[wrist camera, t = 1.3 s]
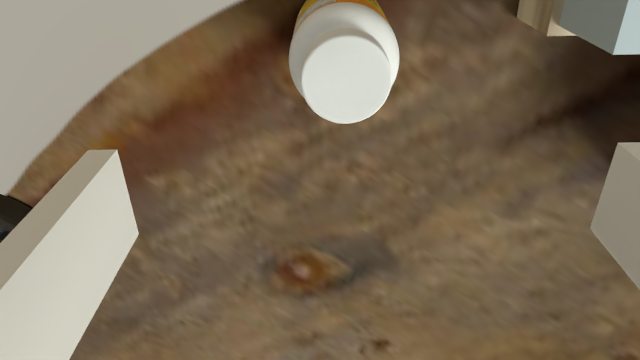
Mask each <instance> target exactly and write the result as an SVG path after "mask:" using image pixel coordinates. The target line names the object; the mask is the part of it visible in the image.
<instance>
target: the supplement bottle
mask: <svg viewBox="0 0 640 360" xmlns="http://www.w3.org/2000/svg"><path fill="white" fill-rule="evenodd" d="M398 67H399V49H398V44H397V40H396V37H395V34H394V32H393V30H392V28H391V26H390V24H389V23H388V21H387V19H386V17H385V15H384V13H383V11H382V9H381V7H380V6H379V4H378V3H377V1H376V0H306V2H305V3H304V5H303V6H302V8H301V10H300V12H299V14H298V17H297V20H296V24H295V29H294V33H293V37H292V41H291V44H290V50H289V68H290V73H291V77H292V79H293V82H294V84H295V86H296V88H297V89H298V91H299V92H300V94H301V95H302V96H303V97H304V98H305V100H306V102H307V103H308V105H309V106H310V108H311V109H312V110H313V111H314V112H315V113H317V114H318V115H319V116H321V117H322V118H324V119H326V120H329V121H332V122H335V123H354V122H359V121H361V120H364V119H366V118H368V117H370V116H371V115H373V114H374V113H375V112H377V111H378V110H379V109H380V108H381V106H382V105H383V104H384V102H385V101H386V99H387V97H388V95H389V92H390V89H391V86H392V85H393V83H394V81H395V78H396V75H397V72H398Z"/></svg>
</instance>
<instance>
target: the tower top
mask: <svg viewBox="0 0 640 360" xmlns="http://www.w3.org/2000/svg"><path fill="white" fill-rule="evenodd" d="M559 26H560V27H562V28H564V29H565V30H567V31H569V32H571V33H573V34H575V35H577V36H579V37H580V38H582V39H584V40H586V41H588V42H590V43H592V44H594V45H595V46H597V47H599V48H601V49H603V50H605V51H607V52H609V53H610V54H612V55H629V54H640V0H565V1H564V5H563V10H562V14H561V19H560V23H559Z"/></svg>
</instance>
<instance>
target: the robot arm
mask: <svg viewBox="0 0 640 360" xmlns="http://www.w3.org/2000/svg"><path fill="white" fill-rule="evenodd" d="M590 230H591V231H592V232H593V233H594V234H595V236H596V237H597V238H598V239H599V241H600V242H601V243H602V244H603V246H604V247H605V248H606V249H607V250H608V252H609V253H610V254H611V255H612V257H613V258H614V259H615V260H616V261H617V263H618V264H619V265H620V266H621V268H622V269H623V270H624V271H625V273H626V274H627V275H628V276H629V277H630V279H631V280H632V281H633V282H634V284H635V285H636V286H637V287H638V288H639V290H640V142H628V143H618V144H617V147H616V150H615V153H614V156H613V159H612V162H611V165H610V168H609V171H608V174H607V177H606V181H605V184H604V187H603V190H602V193H601V196H600V199H599V202H598V205H597V208H596V211H595V214H594V218H593V221H592V224H591V227H590ZM138 234H139V233H138V229H137V225H136V221H135V218H134V214H133V210H132V206H131V202H130V198H129V194H128V190H127V186H126V183H125V179H124V175H123V171H122V167H121V163H120V159H119V155H118V151H117V150H88V151H87V152H86V153H85V154H84V155H83V156H82V157H81V158H80V159H79V160H78V161H77V162H76V164H75V165H74V166H73V167H72V168H71V169H70V170H69V171H68V172H67V173H66V174H65V175H64V176H63V177H62V178H61V179H60V180H59V182H58V183H57V184H56V185H55V186H54V187H53V188H52V189H51V190H50V191H49V192H48V193H47V194H46V195H45V196H44V197H43V199H42V200H41V201H40V202H39V203H38V204H37V205H36V206H35V207H34V208H33V209H31V208H30V207H28V206H26V205H24V204H22V203H20V202H18V201H16V200H14V199H12V198H9V197H7V196H4V195H1V194H0V360H69V359H70V357H71V355H72V353H73V352H74V350H75V348H76V346H77V344H78V343H79V341H80V339H81V337H82V335H83V334H84V332H85V330H86V328H87V326H88V325H89V323H90V321H91V319H92V317H93V316H94V314H95V312H96V310H97V308H98V306H99V305H100V303H101V301H102V299H103V297H104V296H105V294H106V292H107V290H108V288H109V287H110V285H111V283H112V281H113V279H114V278H115V276H116V274H117V272H118V270H119V269H120V267H121V265H122V263H123V261H124V260H125V258H126V256H127V254H128V252H129V251H130V249H131V247H132V245H133V243H134V242H135V240H136V238H137V236H138Z"/></svg>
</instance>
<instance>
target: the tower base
mask: <svg viewBox="0 0 640 360" xmlns="http://www.w3.org/2000/svg"><path fill="white" fill-rule="evenodd" d="M564 1H565V0H520V1H519V7H518V13H517V18H518V19H519V20H521V21H523V22H524V23H526V24H528V25H529V26H531V27H533V28H534V29H536V30H538V31H539V32H541V33H543V34H544V35H546V36H577V35H575V34H573V33H571V32H569V31H567V30H565V29H564V28H562V27H560V26H559V23H560V19H561V14H562V10H563V5H564Z"/></svg>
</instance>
